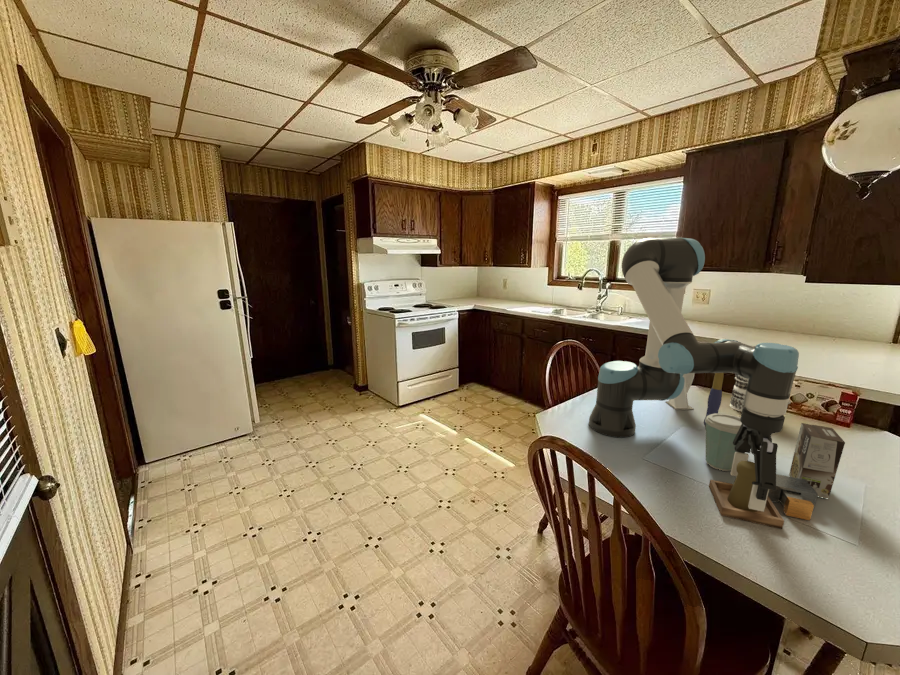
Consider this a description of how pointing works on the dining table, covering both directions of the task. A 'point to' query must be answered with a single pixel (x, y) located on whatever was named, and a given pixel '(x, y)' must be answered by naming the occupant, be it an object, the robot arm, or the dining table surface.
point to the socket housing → (793, 488)
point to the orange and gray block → (795, 505)
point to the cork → (743, 486)
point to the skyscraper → (683, 395)
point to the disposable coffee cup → (721, 440)
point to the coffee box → (817, 457)
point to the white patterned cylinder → (739, 392)
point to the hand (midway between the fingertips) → (745, 491)
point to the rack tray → (726, 509)
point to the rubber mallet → (715, 395)
